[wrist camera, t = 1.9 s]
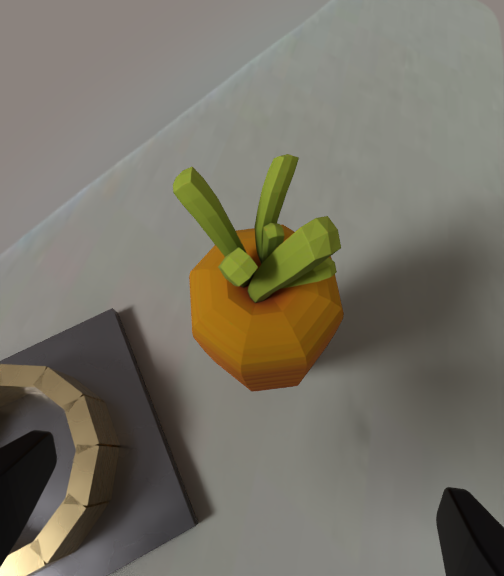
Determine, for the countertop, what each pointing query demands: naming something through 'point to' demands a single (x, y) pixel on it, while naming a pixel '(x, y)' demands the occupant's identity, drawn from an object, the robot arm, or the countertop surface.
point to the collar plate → (141, 453)
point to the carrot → (262, 285)
